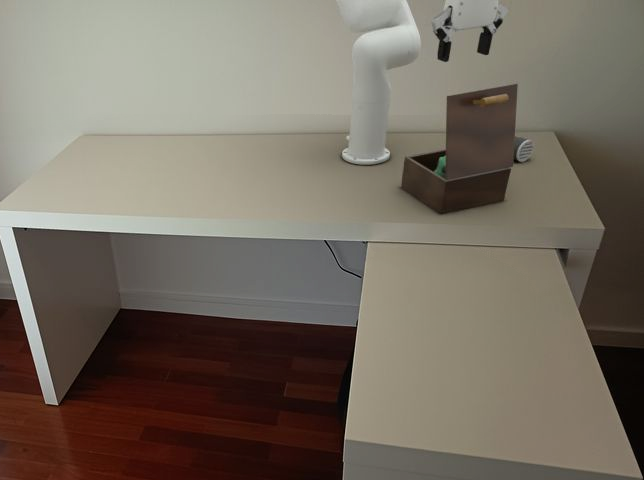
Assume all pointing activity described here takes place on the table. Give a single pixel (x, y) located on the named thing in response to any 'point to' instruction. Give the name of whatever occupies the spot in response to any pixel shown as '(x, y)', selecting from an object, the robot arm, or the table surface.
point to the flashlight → (522, 148)
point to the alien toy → (441, 167)
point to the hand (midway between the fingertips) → (462, 57)
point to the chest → (451, 184)
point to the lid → (480, 131)
